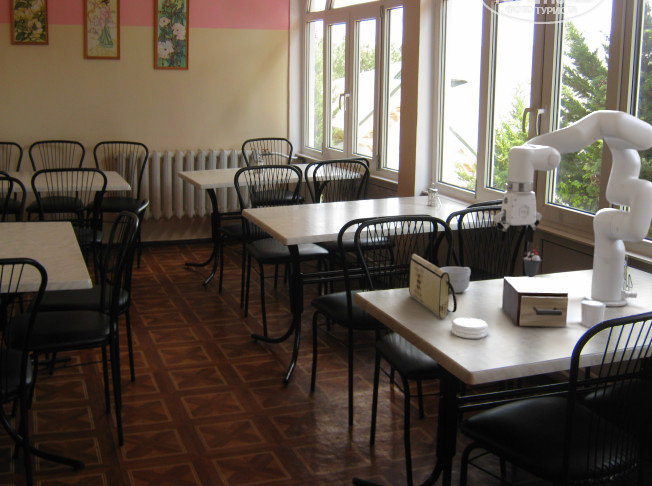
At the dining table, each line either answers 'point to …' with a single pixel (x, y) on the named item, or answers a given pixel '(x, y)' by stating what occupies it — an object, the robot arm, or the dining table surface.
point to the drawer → (543, 310)
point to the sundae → (531, 263)
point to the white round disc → (469, 328)
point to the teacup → (458, 277)
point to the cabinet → (526, 293)
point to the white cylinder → (592, 312)
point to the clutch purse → (430, 286)
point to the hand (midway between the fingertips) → (515, 242)
